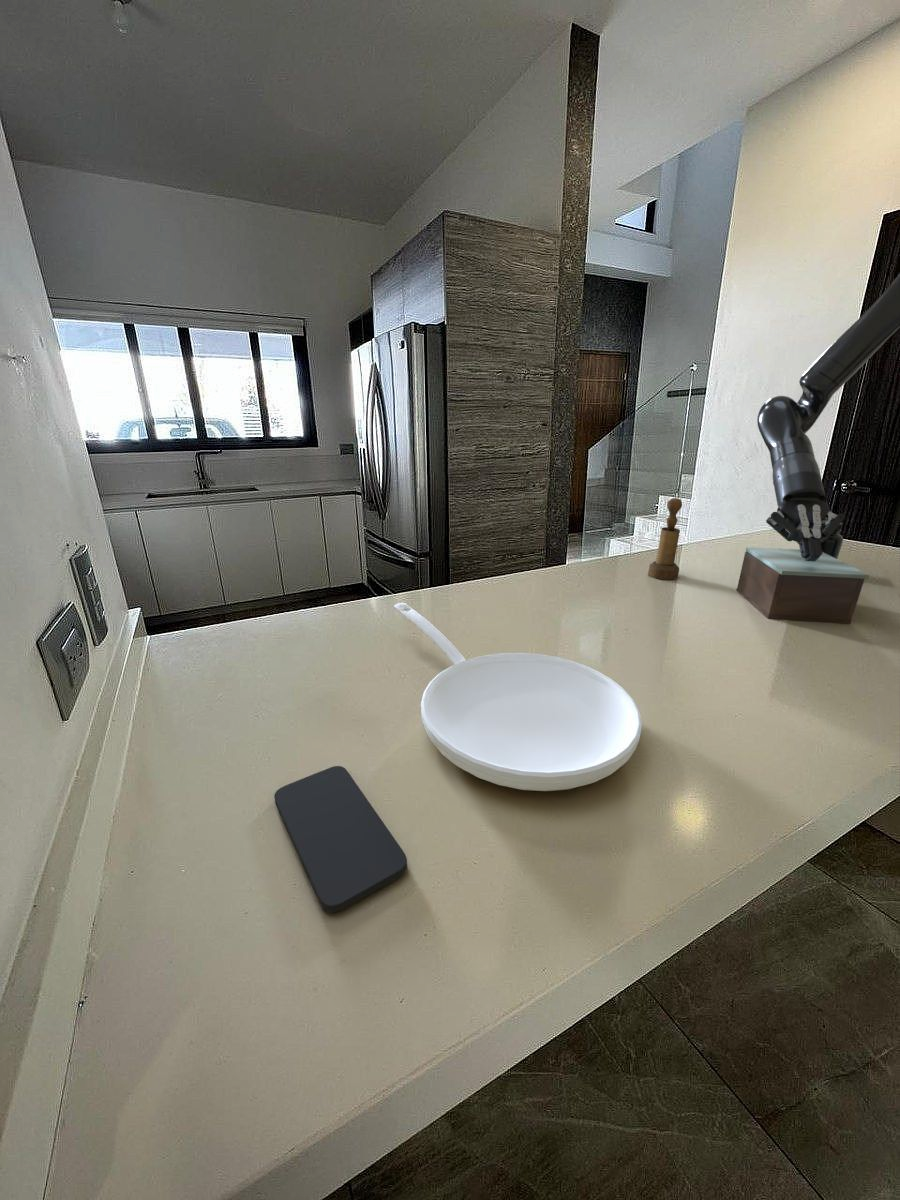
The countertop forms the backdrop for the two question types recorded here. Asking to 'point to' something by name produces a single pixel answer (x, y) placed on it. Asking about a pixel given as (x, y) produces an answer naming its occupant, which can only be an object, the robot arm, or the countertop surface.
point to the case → (798, 594)
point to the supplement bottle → (832, 541)
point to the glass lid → (804, 563)
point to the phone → (339, 838)
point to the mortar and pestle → (667, 546)
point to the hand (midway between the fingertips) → (812, 559)
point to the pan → (527, 717)
